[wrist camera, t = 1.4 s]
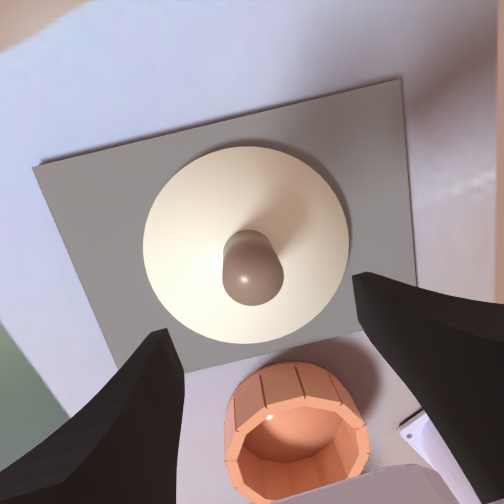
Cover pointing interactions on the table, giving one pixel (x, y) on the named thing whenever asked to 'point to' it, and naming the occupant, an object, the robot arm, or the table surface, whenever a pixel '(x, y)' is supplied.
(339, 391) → the bowl
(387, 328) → the robot arm
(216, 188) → the lid
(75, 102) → the table surface
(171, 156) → the mat
